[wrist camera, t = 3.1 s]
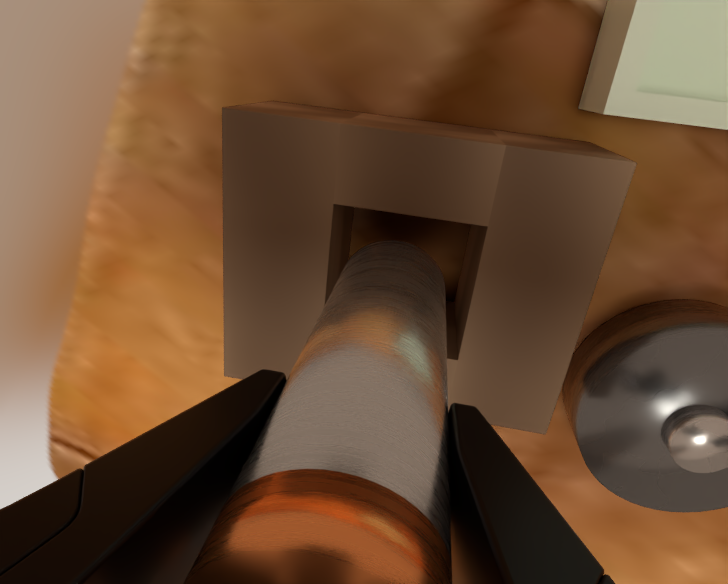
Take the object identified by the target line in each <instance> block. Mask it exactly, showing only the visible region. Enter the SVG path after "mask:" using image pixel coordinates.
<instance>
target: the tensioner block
mask: <svg viewBox="0 0 728 584" xmlns="http://www.w3.org/2000/svg"><path fill="white" fill-rule="evenodd" d="M222 152H223V288H224V376H227V377H232V378H238V379H245V378H247V377H248V376H250V375H252V374H254V373H256V372H258V371H259V370H262V369H267V370H273V371H279V372H283V373H284V374H285V375H286V379H288V377H289V375H290V373H291V371H292V369H293V367H294V365H295V363H296V361H297V359H298V357H299V355H300V353H301V351H302V349H303V347H304V345H305V344H306V342H307V340H308V338H309V336H310V334H311V332H312V330H313V328H314V326H315V324H316V322H317V320H318V318H319V316H320V314H321V312H322V310H323V308H324V306H325V304H326V302H327V300H328V298H329V296H330V294H331V292H332V290H333V288H334V286H335V284H336V283H337V281H338V279H339V277H340V275H341V273H342V271H343V269H344V267H345V265H346V263H347V262H348V259H349V250H350V240H351V231H352V221H353V212H354V207H359V208H365V209H372V210H379V211H386V212H392V213H399V214H406V215H413V216H420V217H426V218H433V219H440V220H447V221H453V222H460V223H467V224H471V226H470V231H469V236H468V241H467V245H466V250H465V255H464V260H463V264H462V269H461V274H460V279H459V284H458V288H457V293H456V298H455V303H454V302H448V301H446V339H447V382H448V412H449V408H450V406H451V404H453V403H459V404H465V405H471V406H475V407H476V408H477V409H478V410H479V411H480V412H481V413H482V415H483V416H484V417H485V419H486V420H487V421H488V422H489V424H490V425H496V426H501V427H507V428H512V429H518V430H523V431H529V432H534V433H540V434H545V435H546V432H547V429H548V426H549V423H550V420H551V417H552V414H553V412H554V409H555V406H556V403H557V400H558V397H559V394H560V391H561V388H562V385H563V382H564V379H565V376H566V373H567V370H568V367H569V364H570V361H571V358H572V355H573V352H574V349H575V346H576V343H577V340H578V337H579V334H580V331H581V328H582V325H583V322H584V319H585V316H586V313H587V310H588V307H589V304H590V301H591V299H592V296H593V293H594V290H595V287H596V284H597V281H598V278H599V275H600V272H601V269H602V266H603V263H604V260H605V257H606V254H607V251H608V248H609V245H610V242H611V239H612V236H613V233H614V230H615V227H616V224H617V221H618V218H619V215H620V212H621V209H622V206H623V203H624V200H625V197H626V194H627V191H628V188H629V186H630V183H631V180H632V177H633V174H634V171H635V168H636V165H637V163H636V162H634V161H632V160H629V159H627V158H625V157H622V156H620V155H618V154H615V153H613V152H611V151H609V150H606V149H604V148H602V147H599V146H597V145H595V144H592V143H590V142H583V141H576V140H568V139H560V138H553V137H545V136H537V135H530V134H522V133H515V132H507V131H499V130H492V129H484V128H476V127H469V126H461V125H453V124H446V123H438V122H430V121H423V120H415V119H408V118H400V117H392V116H385V115H377V114H369V113H362V112H354V111H346V110H339V109H331V108H323V107H316V106H308V105H301V104H293V103H285V102H278V101H267V102H260V103H252V104H245V105H238V106H230V107H223V108H222Z"/></svg>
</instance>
